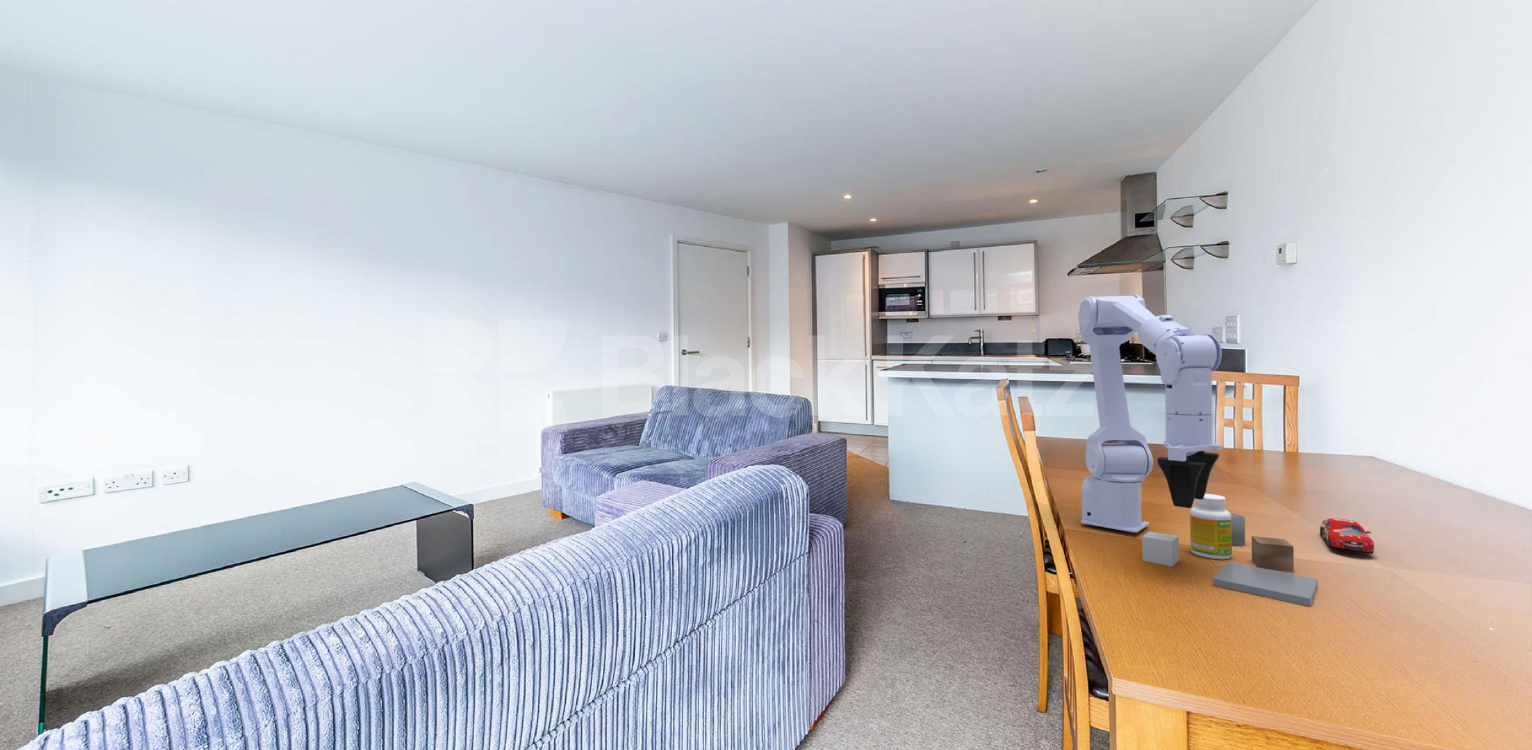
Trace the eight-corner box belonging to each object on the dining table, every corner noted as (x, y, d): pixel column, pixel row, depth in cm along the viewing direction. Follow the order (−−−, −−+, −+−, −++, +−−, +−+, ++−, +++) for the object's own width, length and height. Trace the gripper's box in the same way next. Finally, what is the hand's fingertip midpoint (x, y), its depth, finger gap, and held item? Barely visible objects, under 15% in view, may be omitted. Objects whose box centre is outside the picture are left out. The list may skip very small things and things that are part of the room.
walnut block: (1259, 568, 87) (1259, 542, 87) (1251, 560, 91) (1251, 535, 91) (1293, 572, 86) (1293, 546, 86) (1284, 564, 89) (1284, 539, 89)
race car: (1377, 558, 89) (1377, 532, 89) (1329, 551, 93) (1329, 526, 93) (1361, 540, 99) (1361, 517, 99) (1318, 534, 103) (1318, 512, 103)
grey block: (1142, 560, 92) (1142, 536, 92) (1149, 555, 94) (1149, 531, 94) (1172, 567, 89) (1171, 541, 89) (1178, 561, 91) (1178, 536, 91)
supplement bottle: (1222, 562, 90) (1222, 501, 90) (1184, 553, 95) (1183, 495, 95) (1238, 556, 93) (1237, 496, 93) (1199, 547, 98) (1199, 491, 98)
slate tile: (1213, 585, 81) (1213, 578, 81) (1227, 567, 88) (1227, 561, 88) (1310, 606, 74) (1310, 598, 74) (1317, 585, 80) (1317, 578, 80)
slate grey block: (1213, 544, 99) (1213, 515, 99) (1218, 539, 102) (1217, 511, 102) (1242, 549, 96) (1242, 520, 96) (1247, 544, 99) (1246, 515, 99)
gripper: (1210, 418, 79) (1211, 515, 79) (1230, 412, 89) (1231, 498, 89) (1151, 415, 84) (1152, 507, 84) (1176, 410, 94) (1177, 491, 94)
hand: (1188, 502), depth 87 cm, fingers open, 7 cm apart
